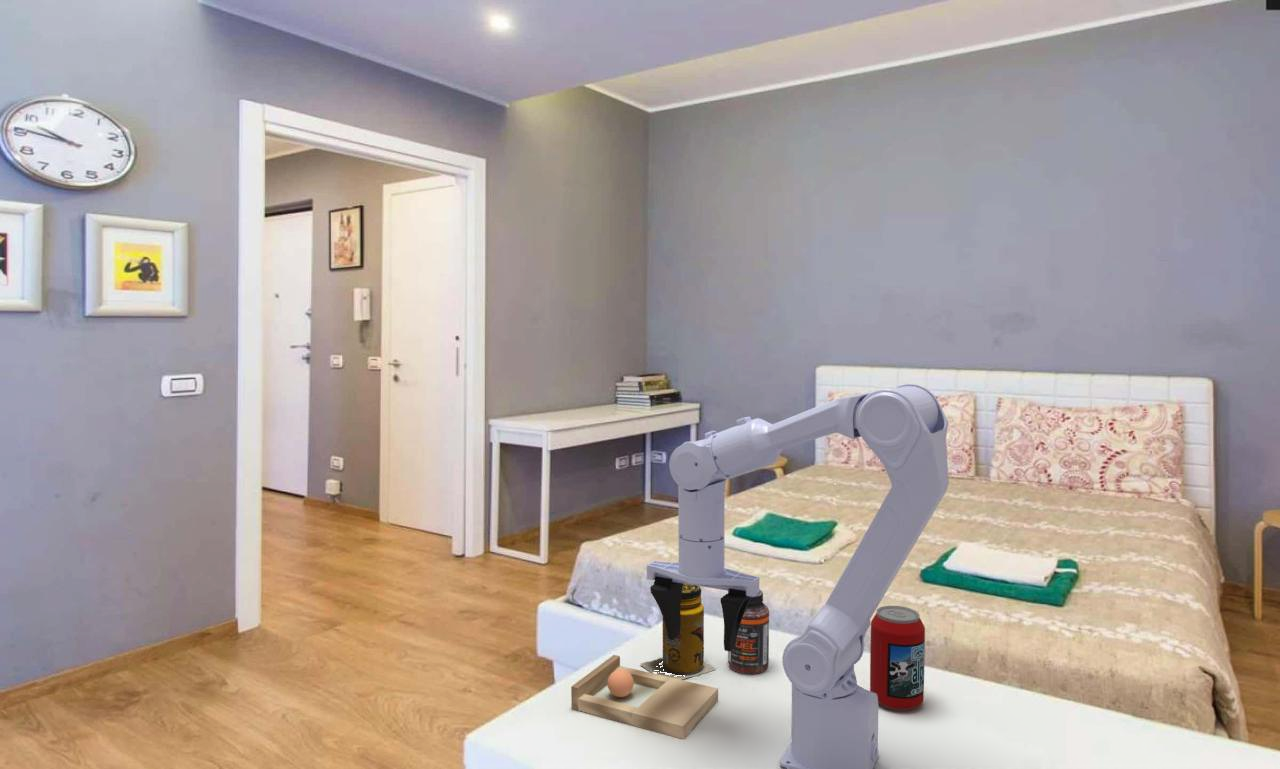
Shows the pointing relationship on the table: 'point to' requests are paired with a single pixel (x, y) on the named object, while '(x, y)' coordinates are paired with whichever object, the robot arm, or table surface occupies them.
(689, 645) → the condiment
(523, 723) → the table surface
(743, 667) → the supplement bottle
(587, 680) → the board
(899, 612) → the beverage can
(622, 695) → the ball
